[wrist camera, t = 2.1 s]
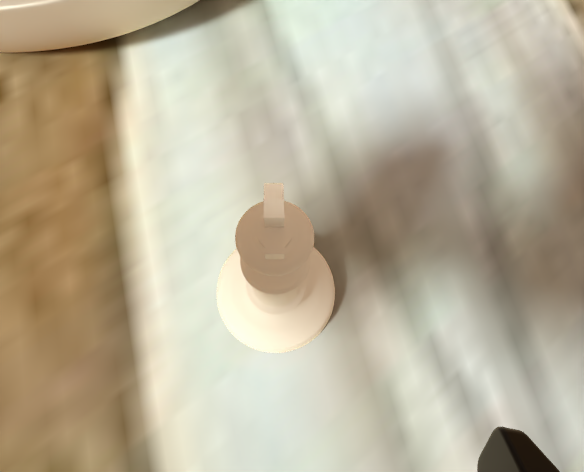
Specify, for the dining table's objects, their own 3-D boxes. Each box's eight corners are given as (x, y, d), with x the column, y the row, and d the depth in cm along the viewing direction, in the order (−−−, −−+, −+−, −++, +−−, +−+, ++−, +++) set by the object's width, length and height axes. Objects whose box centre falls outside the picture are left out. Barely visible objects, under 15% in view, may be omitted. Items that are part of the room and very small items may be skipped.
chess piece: (331, 235, 20) (380, 106, 11) (337, 351, 19) (400, 322, 9) (218, 236, 20) (162, 107, 10) (215, 354, 19) (148, 329, 9)
